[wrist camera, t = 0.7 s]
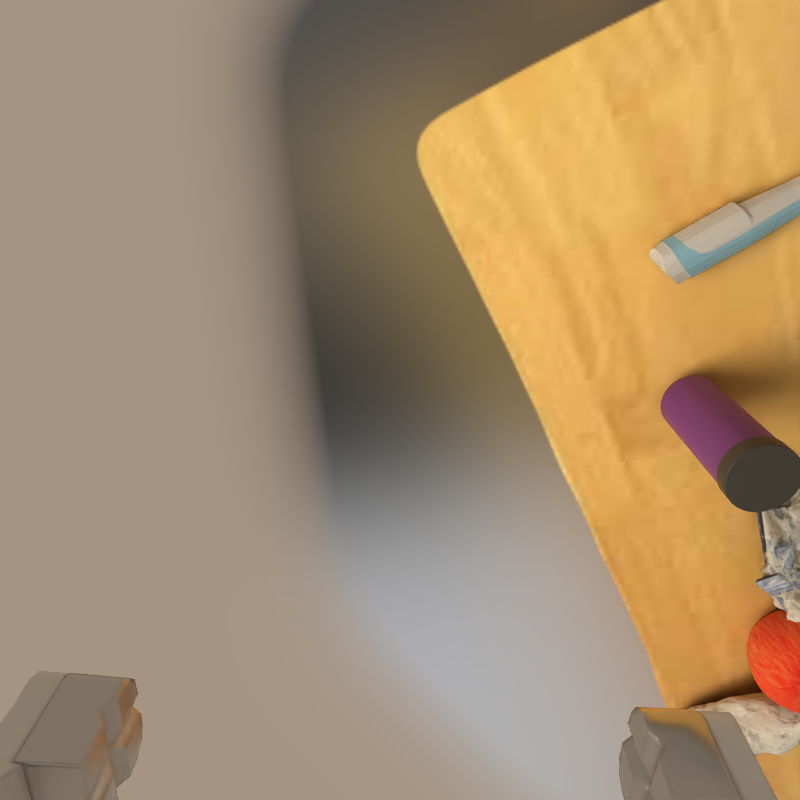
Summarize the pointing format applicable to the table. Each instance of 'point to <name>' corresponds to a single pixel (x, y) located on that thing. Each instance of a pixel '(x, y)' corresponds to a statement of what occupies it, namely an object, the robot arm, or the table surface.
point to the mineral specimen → (782, 555)
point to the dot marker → (731, 445)
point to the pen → (726, 231)
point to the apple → (776, 658)
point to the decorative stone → (761, 722)
